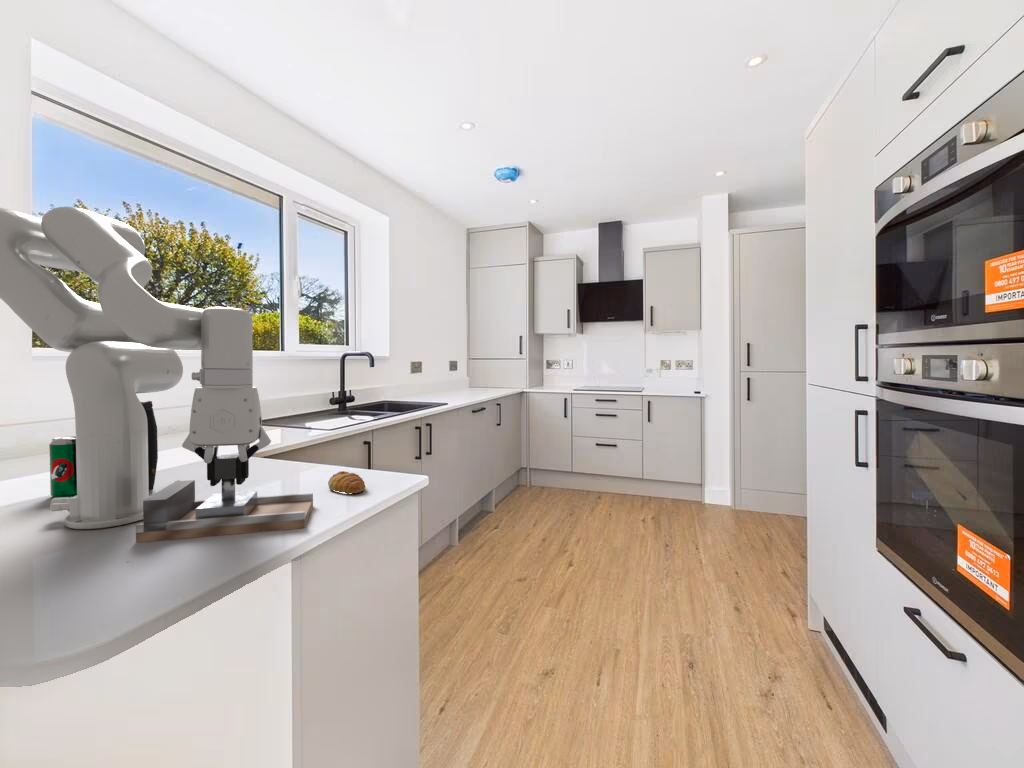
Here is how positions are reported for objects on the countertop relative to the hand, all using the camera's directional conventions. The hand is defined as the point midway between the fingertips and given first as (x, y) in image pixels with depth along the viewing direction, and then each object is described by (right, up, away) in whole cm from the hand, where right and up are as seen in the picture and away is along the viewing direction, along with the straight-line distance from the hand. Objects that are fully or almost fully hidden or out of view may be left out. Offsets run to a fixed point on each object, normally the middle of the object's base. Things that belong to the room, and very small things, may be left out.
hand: (228, 482), depth 77 cm
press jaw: (0, -5, 0) cm, 5 cm away
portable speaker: (-32, -6, +16) cm, 36 cm away
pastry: (+13, -7, +22) cm, 27 cm away
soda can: (-42, -6, +14) cm, 45 cm away
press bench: (+1, -7, +1) cm, 7 cm away
